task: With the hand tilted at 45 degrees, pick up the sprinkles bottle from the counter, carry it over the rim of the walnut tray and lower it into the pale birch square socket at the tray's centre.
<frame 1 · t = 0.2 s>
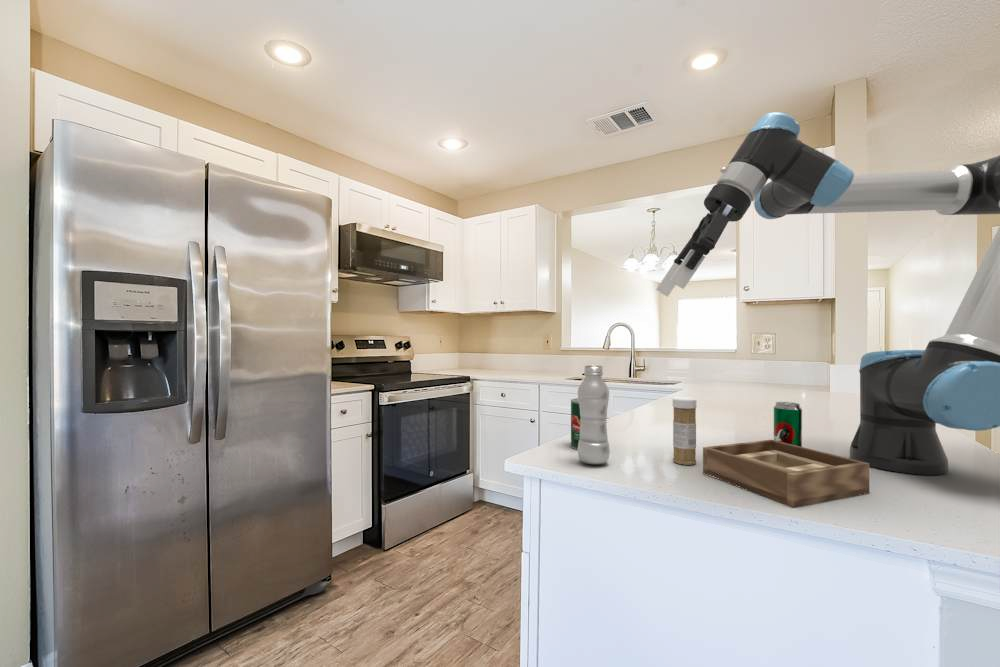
hand: (668, 289, 86), 35 cm above the table, tool tilted 35°, fingers open, 13 cm apart
canned tomato: (587, 448, 106), on the table
socket tray: (780, 482, 81), on the table
sprinkles bottle: (684, 463, 94), on the table
plastic bottle: (593, 464, 93), on the table
soda can: (787, 460, 96), on the table
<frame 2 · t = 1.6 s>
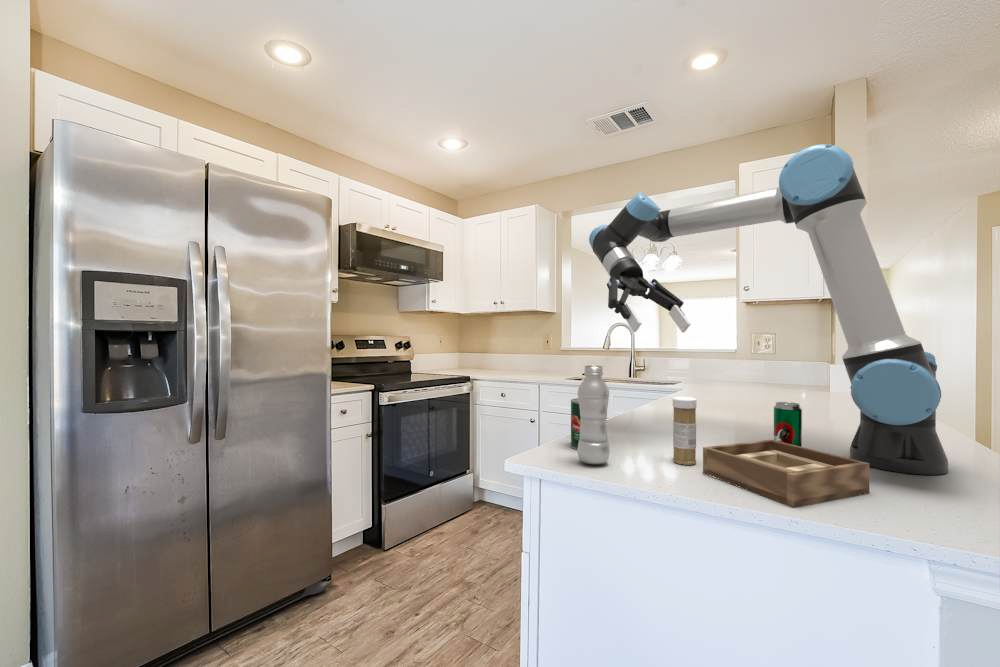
hand: (662, 328, 102), 28 cm above the table, tool tilted 45°, fingers open, 13 cm apart
nothing on the table moved.
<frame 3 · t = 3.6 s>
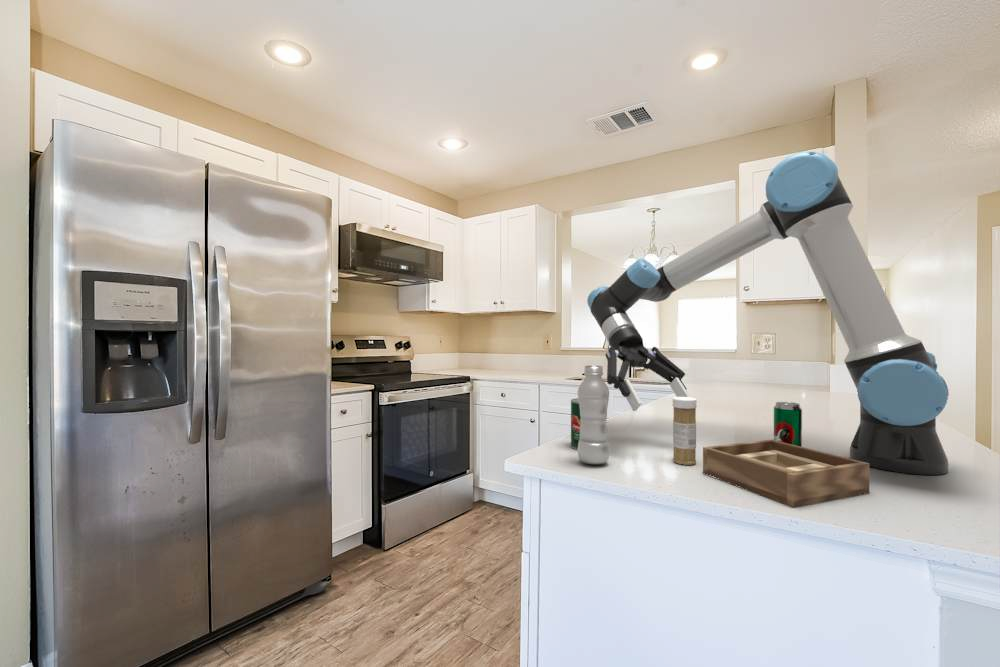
hand: (663, 405, 99), 11 cm above the table, tool tilted 45°, fingers open, 13 cm apart
nothing on the table moved.
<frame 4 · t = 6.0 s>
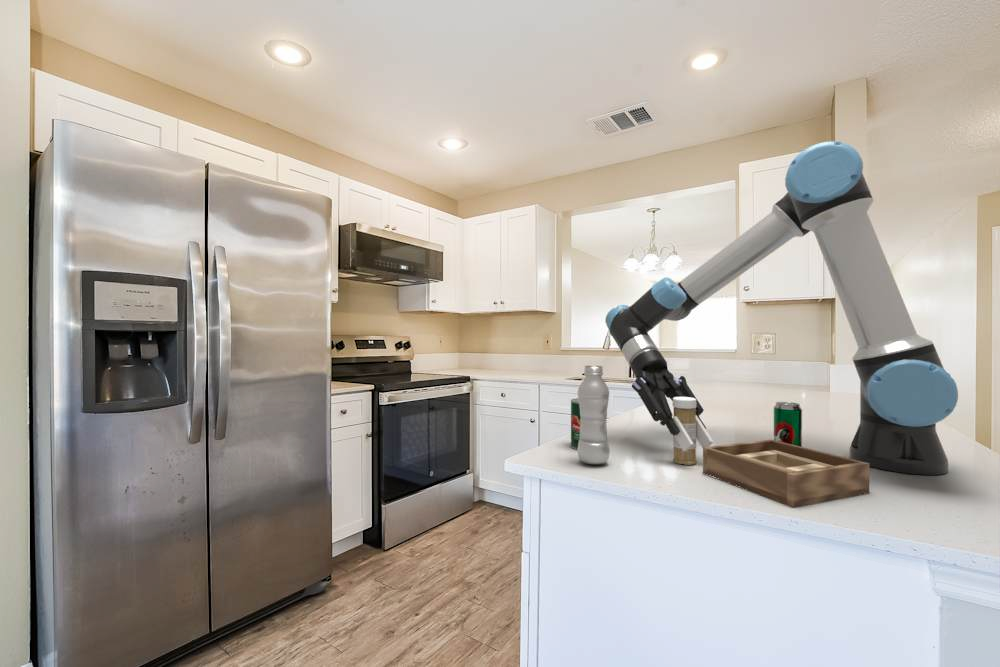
hand: (698, 446, 90), 4 cm above the table, tool tilted 45°, fingers closed on sprinkles bottle, 4 cm apart
sprinkles bottle: (684, 463, 94), on the table, touching gripper
everything else where it was.
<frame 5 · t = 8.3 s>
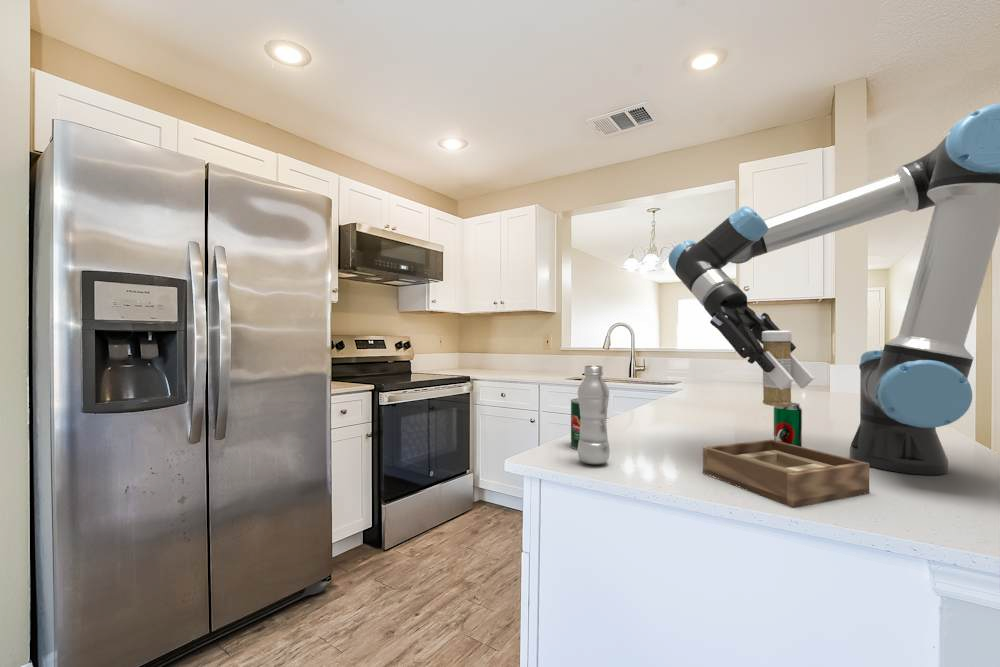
hand: (797, 383, 78), 18 cm above the table, tool tilted 45°, fingers closed on sprinkles bottle, 4 cm apart
sprinkles bottle: (777, 406, 81), point 14 cm above the table, touching gripper
everything else where it was.
when the fingers open (7 cm above the table, at t = 10.7 s): sprinkles bottle drops 2 cm, resting on socket tray.
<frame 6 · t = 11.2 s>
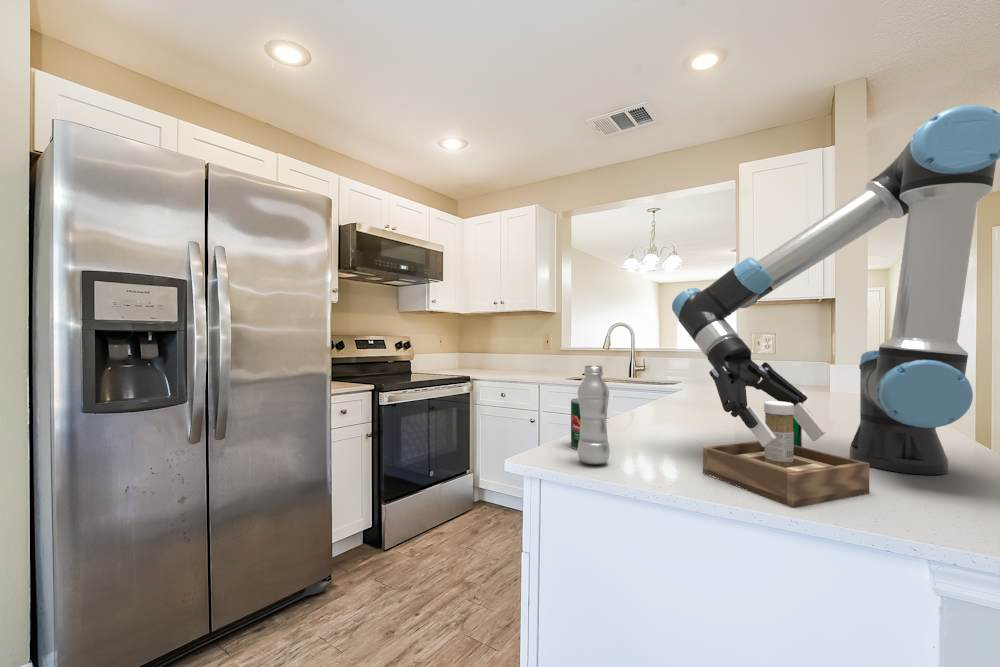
hand: (795, 439, 79), 8 cm above the table, tool tilted 45°, fingers open, 11 cm apart
sprinkles bottle: (778, 478, 81), point 1 cm above the table, touching socket tray
everything else where it was.
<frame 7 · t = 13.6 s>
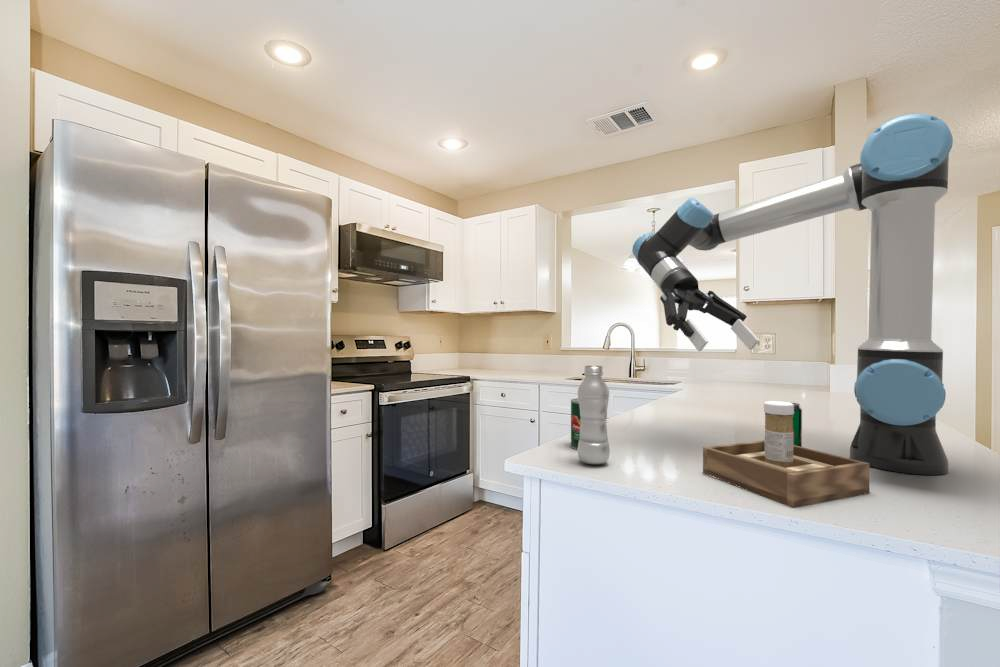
hand: (729, 345, 91), 24 cm above the table, tool tilted 45°, fingers open, 13 cm apart
nothing on the table moved.
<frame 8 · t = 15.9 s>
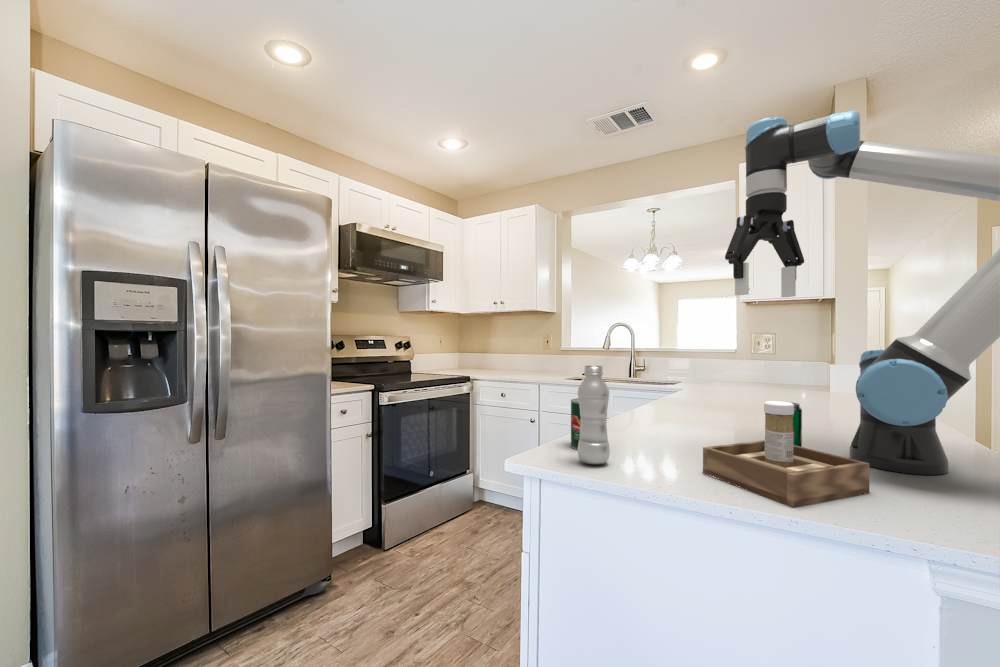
hand: (765, 296, 96), 35 cm above the table, tool pointing down, fingers open, 13 cm apart
nothing on the table moved.
at the end: sprinkles bottle 0.5 cm off-centre on the socket tray, point 0.8 cm above the socket tray's base; sprinkles bottle tilted 0°; the gripper is holding nothing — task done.
